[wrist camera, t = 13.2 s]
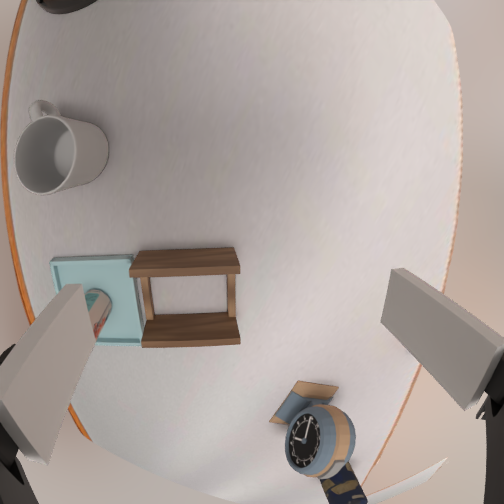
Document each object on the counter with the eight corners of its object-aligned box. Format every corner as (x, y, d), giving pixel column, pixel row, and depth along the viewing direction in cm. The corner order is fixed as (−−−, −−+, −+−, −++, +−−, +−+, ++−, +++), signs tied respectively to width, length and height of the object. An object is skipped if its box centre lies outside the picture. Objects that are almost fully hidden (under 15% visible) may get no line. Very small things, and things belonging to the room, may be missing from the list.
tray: (54, 257, 37) (49, 261, 35) (133, 254, 39) (130, 259, 37) (73, 337, 41) (70, 343, 40) (146, 339, 43) (144, 346, 42)
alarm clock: (300, 376, 51) (334, 450, 34) (341, 383, 53) (379, 448, 37) (267, 424, 54) (286, 493, 37) (306, 427, 57) (331, 490, 40)
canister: (310, 475, 66) (328, 523, 49) (326, 458, 63) (348, 509, 46) (337, 472, 68) (356, 517, 51) (353, 455, 66) (377, 502, 49)
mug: (119, 163, 35) (90, 167, 25) (71, 196, 35) (32, 211, 25) (85, 90, 31) (49, 72, 20) (38, 126, 31) (-5, 121, 20)
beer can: (97, 321, 40) (73, 370, 29) (78, 297, 39) (46, 341, 27) (119, 306, 40) (96, 356, 29) (98, 281, 39) (68, 325, 27)
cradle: (139, 250, 39) (128, 269, 32) (233, 247, 41) (240, 265, 34) (149, 320, 42) (142, 347, 36) (234, 317, 44) (240, 344, 38)
